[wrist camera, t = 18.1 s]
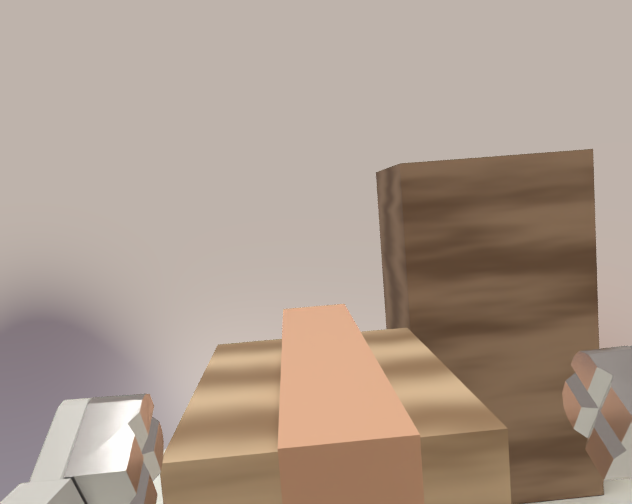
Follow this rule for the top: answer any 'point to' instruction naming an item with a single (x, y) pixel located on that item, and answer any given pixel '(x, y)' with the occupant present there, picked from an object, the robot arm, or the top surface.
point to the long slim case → (341, 417)
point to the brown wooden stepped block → (441, 341)
